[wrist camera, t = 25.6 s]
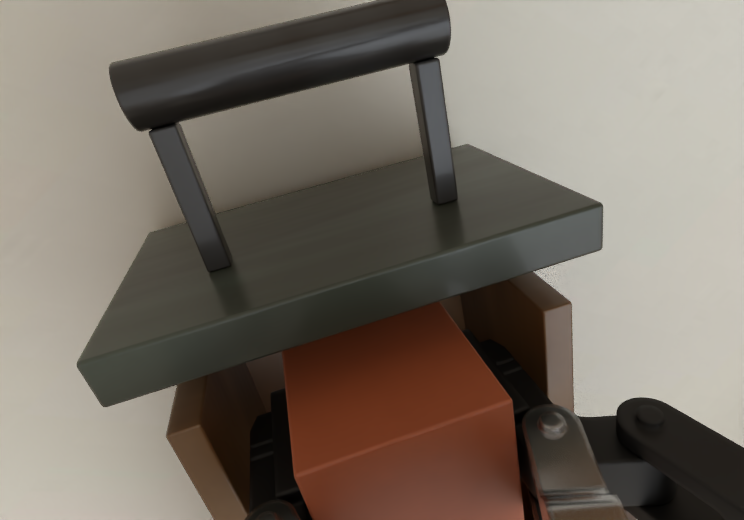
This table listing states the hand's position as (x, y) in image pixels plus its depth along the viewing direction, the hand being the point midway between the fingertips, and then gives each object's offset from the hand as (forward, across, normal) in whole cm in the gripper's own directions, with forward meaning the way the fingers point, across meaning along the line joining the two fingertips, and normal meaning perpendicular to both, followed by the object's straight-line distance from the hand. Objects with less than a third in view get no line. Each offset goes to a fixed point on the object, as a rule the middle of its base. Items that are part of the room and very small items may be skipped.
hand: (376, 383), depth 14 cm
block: (0, 0, 0) cm, 0 cm away
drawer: (+5, 0, -1) cm, 5 cm away
